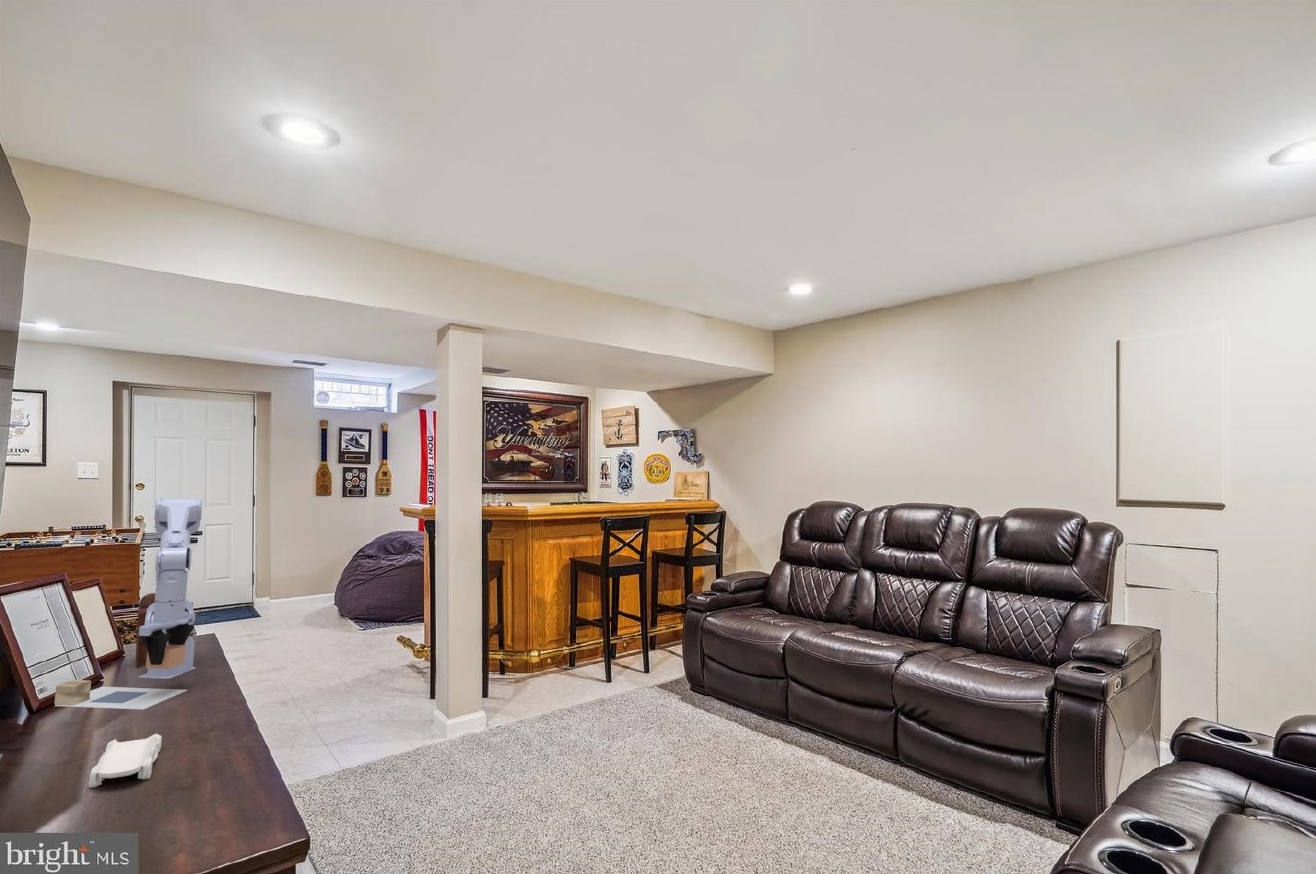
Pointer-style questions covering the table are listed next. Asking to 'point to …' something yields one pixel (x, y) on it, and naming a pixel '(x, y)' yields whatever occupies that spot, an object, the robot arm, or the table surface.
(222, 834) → the table surface
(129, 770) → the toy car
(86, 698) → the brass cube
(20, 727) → the table surface
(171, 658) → the terracotta block
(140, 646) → the wooden figurine
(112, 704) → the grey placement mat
